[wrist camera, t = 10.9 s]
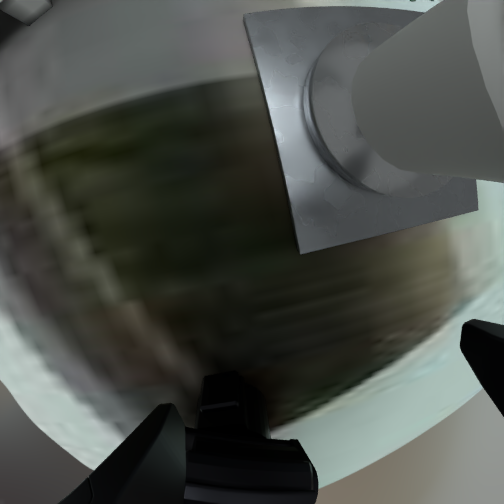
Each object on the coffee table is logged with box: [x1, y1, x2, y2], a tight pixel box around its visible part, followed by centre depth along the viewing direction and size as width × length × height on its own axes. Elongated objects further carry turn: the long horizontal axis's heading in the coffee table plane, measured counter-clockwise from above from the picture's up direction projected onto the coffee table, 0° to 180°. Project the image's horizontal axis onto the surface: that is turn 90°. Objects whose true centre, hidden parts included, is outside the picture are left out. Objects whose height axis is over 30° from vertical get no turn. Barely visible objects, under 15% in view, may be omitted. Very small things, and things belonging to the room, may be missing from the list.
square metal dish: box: [243, 6, 478, 254], centre depth 17 cm, size 16×15×4 cm
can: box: [351, 0, 504, 183], centre depth 9 cm, size 8×8×12 cm
